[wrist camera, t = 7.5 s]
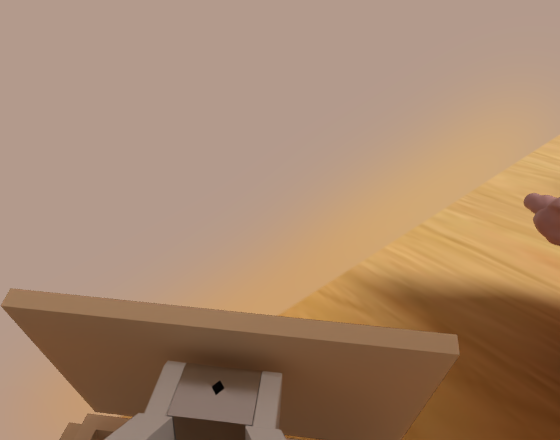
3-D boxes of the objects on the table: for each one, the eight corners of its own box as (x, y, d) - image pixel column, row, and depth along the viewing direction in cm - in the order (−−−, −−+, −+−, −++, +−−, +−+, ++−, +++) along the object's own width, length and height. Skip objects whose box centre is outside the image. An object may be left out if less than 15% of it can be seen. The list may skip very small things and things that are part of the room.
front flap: (459, 354, 11) (456, 331, 11) (0, 305, 12) (11, 285, 12) (395, 448, 17) (394, 431, 17) (95, 412, 18) (101, 396, 18)
